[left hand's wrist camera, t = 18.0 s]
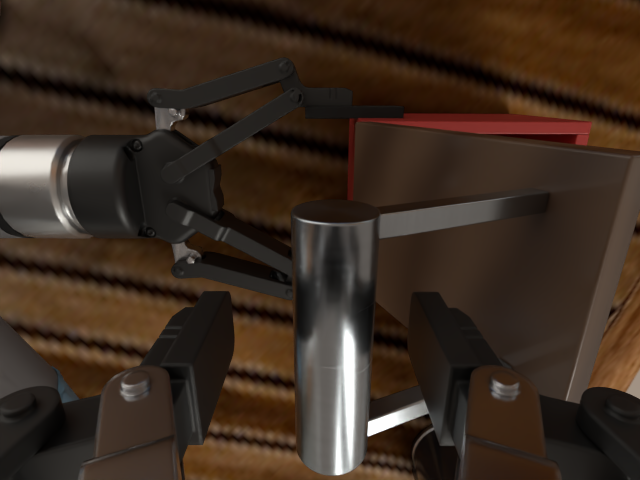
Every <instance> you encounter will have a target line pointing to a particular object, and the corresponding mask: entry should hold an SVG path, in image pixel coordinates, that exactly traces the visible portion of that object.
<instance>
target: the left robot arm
mask: <svg viewBox="0 0 640 480" xmlns="http://www.w3.org/2000/svg"><path fill="white" fill-rule="evenodd" d="M407 342H408V352H409V357H410V360H411V363H412V366H413V369H414V372H415V375H416V377H417V380H418V383H419V386H420V389H421V392H422V395H423V398H424V401H425V404H426V407H427V410H428V412H429V415H430V418H431V421H432V425H430V426H429V427H427V428H426V429H424V430H423V431H422V432H421V433H420V434H419V435H418V436H417V437H416V439H415V441H414V443H413V445H412V449H411V456H412V460H413V464H414V467H413V469H412V472H413V476H414V480H640V399H638V398H637V397H634V396H632V395H630V394H628V393H625V392H622V391H619V390H616V389H612V388H606V387H593V388H589V389H587V390H585V391H584V392H583V394H582V396H581V400H580V403H579V404H578V403H574V402H569V401H565V400H560V399H556V398H551V397H547V396H543V395H540V394H539V392H538V389H537V387H536V386H535V385H534V383H533V382H532V381H531V380H530V379H529V378H527V377H526V376H524V375H523V374H521V373H519V372H517V371H515V370H513V369H510V368H507V367H504V366H503V365H502V363H501V362H500V361H499V359H498V358H497V356H496V355H495V353H494V352H493V350H492V349H491V347H490V346H489V344H488V343H487V341H486V340H485V339H483V335H482V334H481V333H480V331H479V330H477V327H476V325H475V324H474V322H473V321H472V319H471V318H470V317H469V316H468V315H466V314H465V313H464V312H462V311H461V310H459V309H458V308H448V306H447V305H446V303H445V302H444V300H443V298H442V297H441V295H440V293H439V292H413V293H412V296H411V303H410V314H409V325H408V338H407ZM233 352H234V326H233V314H232V303H231V295H230V292H229V291H204V292H203V293H202V295H201V297H200V298H199V300H198V302H197V303H196V305H195V307H185V308H184V309H182V310H181V311H180V312H178V313H177V314H175V315H174V316H172V318H171V319H170V321H169V322H168V324H167V325H166V327H165V329H164V330H163V331H162V333H161V334H160V336H159V338H158V339H157V340H156V342H155V343H154V345H153V346H152V348H151V349H150V351H149V352H148V354H147V355H146V357H145V358H144V360H143V361H142V363H141V364H140V366H137V367H133V368H130V369H127V370H125V371H123V372H121V373H119V374H117V375H116V376H114V377H113V378H111V379H110V380H109V381H108V382H107V383H106V385H105V386H104V387H103V389H102V392H101V394H100V395H97V396H93V397H89V398H84V399H79V400H75V401H70V402H66V403H62V401H61V397H60V394H59V392H58V390H56V389H55V388H53V387H49V386H34V387H29V388H25V389H21V390H18V391H16V392H13V393H11V394H9V395H7V396H5V397H3V398H1V399H0V480H185V471H184V464H183V456H184V454H185V451H186V449H187V446H188V445H203V443H204V440H205V437H206V434H207V431H208V428H209V425H210V422H211V419H212V416H213V413H214V410H215V407H216V404H217V401H218V398H219V395H220V392H221V389H222V386H223V383H224V380H225V377H226V374H227V371H228V368H229V365H230V362H231V359H232V356H233Z"/></svg>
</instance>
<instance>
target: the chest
mask: <svg viewBox="0 0 640 480" xmlns="http://www.w3.org/2000/svg"><path fill="white" fill-rule="evenodd" d="M369 121H371V122H380V123H389V124H398V125H407V126H416V127H425V128H434V129H443V130H452V131H461V132H470V133H479V134H488V135H497V136H506V137H515V138H524V139H533V140H542V141H550V142H559V143H568V144H577V145H586V146H587V142H588V137H589V133H590V128H591V124H592V122H589V121H578V120H568V119H558V118H548V117H537V116H527V115H517V114H417V113H404V116H403V118H358V119H350V122H349V157H348V193H347V200H352V201H353V183H354V153H355V123H356V122H369Z"/></svg>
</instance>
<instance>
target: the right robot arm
mask: <svg viewBox="0 0 640 480" xmlns="http://www.w3.org/2000/svg"><path fill="white" fill-rule="evenodd" d="M279 82H280V83H281V85H282V88H283V91H284V93H283V94H282V95H280V96H278V97H277V98H275V99H274V100H272V101H270V102H269V103H267V104H266V105H264V106H262V107H261V108H259V109H258V110H256V111H254V112H253V113H251V114H250V115H248V116H246V117H245V118H243V119H242V120H240V121H238V122H237V123H235V124H234V125H232V126H231V127H229V128H227V129H226V130H224V131H223V132H221V133H219V134H218V135H216V136H215V137H213V138H211V139H209V140H208V141H206V142H204V143H203V144H201V145H200V146H199V145H197V144H196V143H194V142H193V141H191V140H190V139H189V138H187V137H186V136H184V135H183V134H181V133H180V132H178V131H177V130H175V125H176V123H177V122H178V121H180V120H184V119H186V118H187V117H188V115H189V108H197V107H202V106H206V105H209V104H212V103H216V102H219V101H222V100H225V99H228V98H231V97H234V96H238V95H241V94H244V93H247V92H250V91H253V90H257V89H260V88H263V87H266V86H269V85H272V84H275V83H279ZM352 92H353V91H351V90H349V89H346V88H307V87H305V86H303V85H302V83H301V82H300V80H299V77H298V74H297V71H296V68H295V66H294V64H293V63H292V61H291V60H289V59H288V58H279V59H276V60H273V61H270V62H267V63H264V64H261V65H258V66H255V67H252V68H248V69H245V70H242V71H239V72H236V73H233V74H230V75H227V76H224V77H221V78H218V79H214V80H211V81H208V82H205V83H202V84H199V85H196V86H193V87H190V88H187V89H183V90H177V89H159V88H155V89H151V90H150V91H149V92H148V94H147V99H148V102H149V103H150V105H152V106H153V107H155V118H156V130H154V131H153V132H151V133H149V134H147V135H90V136H87V137H83V136H80V135H15V136H0V238H90V237H93V236H94V237H97V238H159V239H162V240H165V241H167V242H169V243H171V244H172V248H173V252H174V257H175V264H174V265H173V267H172V269H171V272H172V275H173V276H174V277H176V278H198V277H203V278H207V279H211V280H214V281H218V282H222V283H226V284H230V285H234V286H237V287H241V288H245V289H249V290H253V291H257V292H260V293H264V294H268V295H272V296H276V297H280V298H283V299H287V300H293V287H292V248H291V247H289V246H287V245H285V244H284V243H282V242H280V241H278V240H276V239H274V238H272V237H270V236H269V235H267V234H265V233H263V232H261V231H259V230H257V229H255V228H254V227H252V226H250V225H248V224H246V223H244V222H242V221H241V220H239V219H237V218H236V217H235V216H234V215H233V214H232V213H230V212H228V211H227V210H225V209H223V208H222V206H223V205H224V198H223V193H222V190H221V187H220V180H221V175H222V174H221V165H218V162H217V160H216V159H215V158H216V157H218V156H219V155H221V154H223V153H224V152H226V151H228V150H229V149H231V148H232V147H234V146H236V145H237V144H239V143H240V142H242V141H244V140H245V139H247V138H249V137H250V136H252V135H253V134H255V133H257V132H258V131H260V130H262V129H263V128H265V127H266V126H268V125H270V124H271V123H273V122H275V121H276V120H278V119H279V118H281V117H283V116H284V115H286V114H288V113H289V112H291V111H292V110H294V109H296V108H297V107H305V118H313V119H358V118H403V116H404V107H402V106H352ZM197 232H200V233H202V234H204V235H206V236H208V237H210V238H212V239H214V240H217V241H224V242H226V243H228V244H229V245H231V246H233V247H235V248H237V249H239V250H241V251H243V252H245V253H247V254H249V255H251V256H252V257H254V258H256V259H258V260H260V261H262V262H264V263H266V264H268V265H270V266H272V267H274V268H272V267H268V266H264V265H261V264H257V263H253V262H249V261H246V260H242V259H238V258H234V257H231V256H227V255H223V254H220V253H215V252H204V251H203V249H202V247H200V246H195V245H192V244H191V243H190V242H189V240H188V239H189V238H190V237H192V236H193V235H194V234H196V233H197ZM275 268H276V269H275ZM34 386H49V387H53V388H55V389H56V390H58V392H59V394H60V397H61V401H62V403H66V402H70V401H75V400H79V398H78V397H77V396H76V394H75V393H74V392H73V391H72V389H71V388H70V387H69V386H68V384H67V383H66V382H65V381H64V379H63V377H62V375H61V374H60V372H59V370H57V369H55V368H54V367H51V366H50V365H49V364H48V363H47V362H46V361H45V360H44V359H43V358H42V357H41V356H40V355H39V354H38V353H37V352H36V351H35V350H34V349H33V348H32V347H31V346H30V345H29V344H28V343H27V342H26V341H25V340H24V339H23V338H22V337H21V336H20V335H19V334H18V333H17V332H16V331H15V330H13V329H12V328H11V327H10V326H9V325H8V324H7V323H6V322H5V321H4V320H3V319H2V318H1V317H0V399H1V398H3V397H5V396H7V395H9V394H11V393H13V392H16V391H18V390H21V389H25V388H29V387H34Z"/></svg>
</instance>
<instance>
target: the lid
mask: <svg viewBox="0 0 640 480" xmlns="http://www.w3.org/2000/svg"><path fill="white" fill-rule="evenodd" d="M639 211H640V151H631V150H622V149H613V148H604V147H595V146H586V145H577V144H568V143H559V142H550V141H542V140H533V139H524V138H515V137H506V136H497V135H488V134H479V133H470V132H461V131H452V130H443V129H434V128H425V127H416V126H407V125H398V124H389V123H380V122H371V121H369V122H356V123H355V153H354V183H353V201H352V200H339V199H328V200H316V201H310V202H306V203H302V204H300V205H297V206H295V207H294V208H293V209H292V211H291V243H292V287H293V331H294V374H295V418H296V449H297V453H298V455H299V457H300V459H301V460H302V462H303V463H304V464H305V465H306V466H307V467H308V468H309V469H311V470H313V471H314V472H317V473H319V474H323V475H328V476H337V475H343V474H346V473H348V472H350V471H352V470H354V469H355V468H356V467H358V466H359V465H360V463H361V462H362V461H363V459H364V457H365V455H366V451H367V439H368V437H369V436H371V435H374V434H377V433H379V432H382V431H384V430H387V429H390V428H392V427H395V426H397V425H400V424H403V423H405V422H408V421H410V420H413V419H416V418H418V417H421V416H423V415H426V414H429V412H428V410H427V407H426V404H425V401H424V398H423V395H422V392H421V389H420V386H419V385H418V386H415V387H412V388H409V389H406V390H403V391H400V392H397V393H394V394H392V395H389V396H386V397H383V398H380V399H377V400H374V401H371V402H370V388H371V371H372V355H373V338H374V321H375V304H376V302H377V303H378V304H379V305H381V306H382V307H383V308H384V309H385V310H386V311H388V312H389V313H390V314H391V315H392V316H394V317H395V318H396V319H397V320H398V321H400V322H401V323H402V324H403V325H404V326H405V327H407V328H408V325H409V314H410V303H411V296H412V293H413V292H439V293H440V295H441V297H442V298H443V300H444V302H445V303H446V305H447V306H448V308H458V309H459V310H461V311H462V312H464V313H465V314H466V315H468V316H469V317H470V318H471V319H472V321H473V322H474V324H475V325H476V327H477V330H479V331H480V333H481V334H482V335H483V339H485V340H486V341H487V343H488V344H489V346H490V347H491V349H492V350H493V352H494V353H495V355H496V356H497V358H498V359H499V361H500V362H501V363H502V365H503V366H504V367H507V368H510V369H513V370H515V371H517V372H519V373H521V374H523V375H524V376H526V377H527V378H529V379H530V380H531V381H532V382H533V383H534V385H535V386H536V387H537V389H538V392H539V394H540V395H543V396H547V397H551V398H556V399H560V400H565V401H569V402H574V403H578V404H579V403H580V400H581V396H582V394H583V392H584V391H585V390H587V387H588V384H589V380H590V377H591V374H592V370H593V367H594V363H595V360H596V357H597V353H598V350H599V346H600V343H601V340H602V336H603V333H604V329H605V326H606V323H607V319H608V316H609V312H610V309H611V306H612V302H613V299H614V295H615V292H616V289H617V285H618V282H619V278H620V275H621V272H622V268H623V265H624V261H625V258H626V255H627V251H628V248H629V245H630V241H631V238H632V234H633V231H634V228H635V224H636V221H637V217H638V214H639Z"/></svg>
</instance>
